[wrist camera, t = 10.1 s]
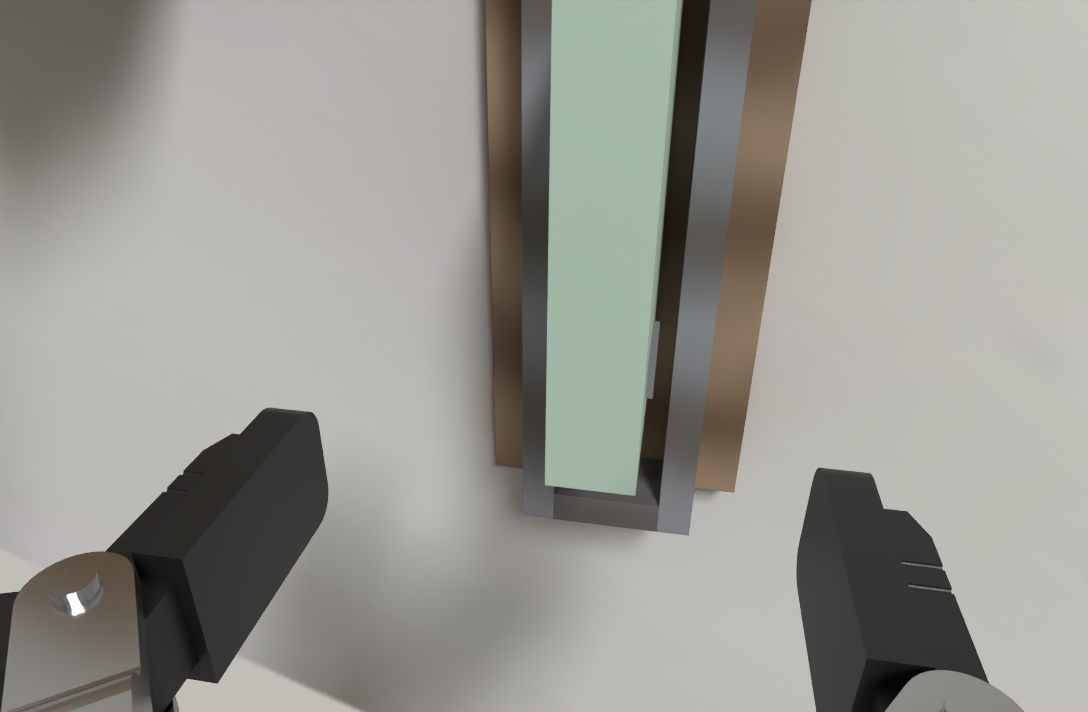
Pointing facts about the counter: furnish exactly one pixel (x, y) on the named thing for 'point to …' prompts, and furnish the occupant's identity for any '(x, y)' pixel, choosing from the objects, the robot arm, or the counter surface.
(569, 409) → the door panel
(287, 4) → the counter surface
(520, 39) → the door track
